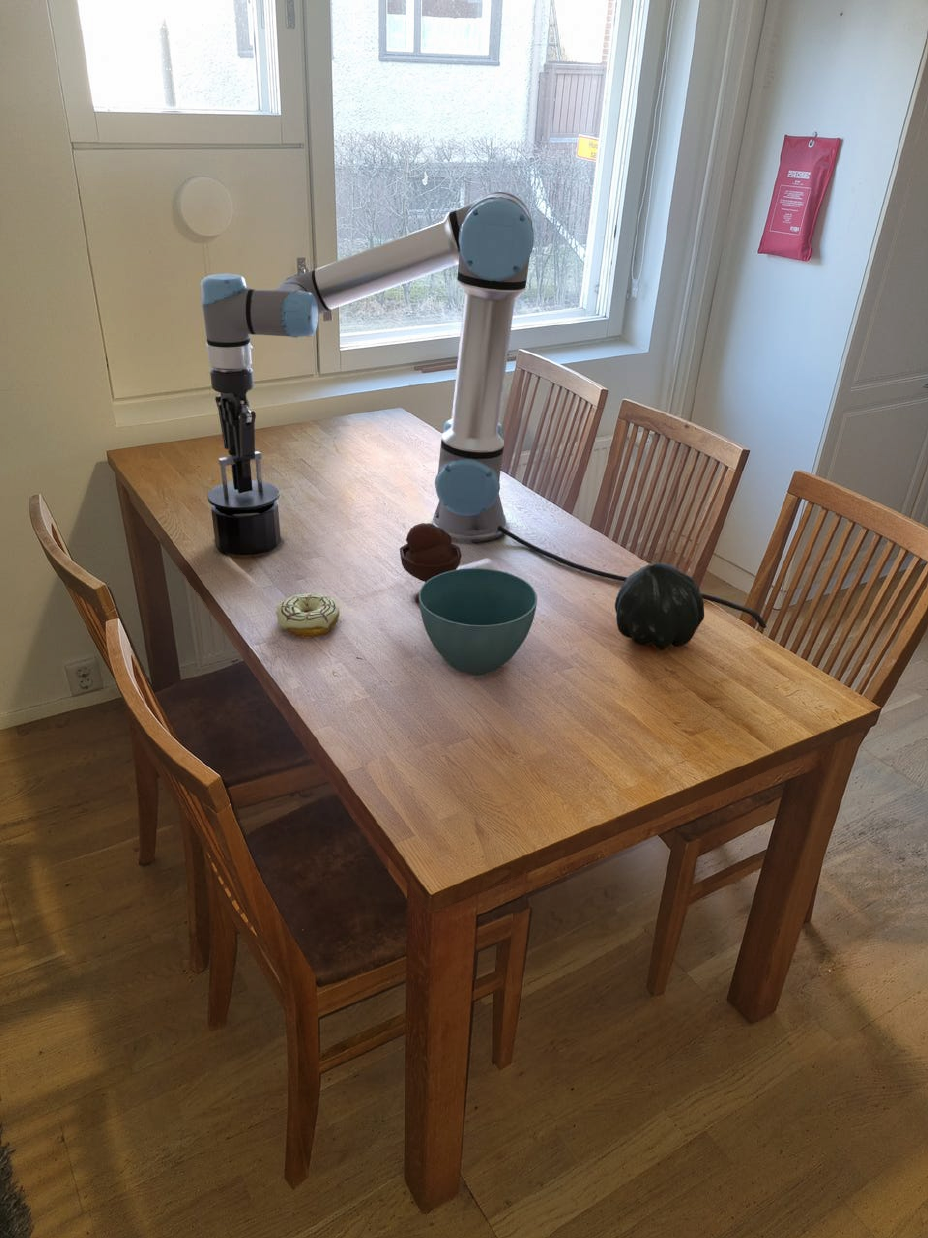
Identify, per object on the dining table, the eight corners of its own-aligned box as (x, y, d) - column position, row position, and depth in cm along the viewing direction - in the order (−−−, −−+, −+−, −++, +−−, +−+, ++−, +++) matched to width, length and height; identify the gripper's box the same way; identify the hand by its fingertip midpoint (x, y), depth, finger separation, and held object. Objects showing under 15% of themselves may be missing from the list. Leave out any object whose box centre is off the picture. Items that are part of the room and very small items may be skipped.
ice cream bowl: (454, 617, 157) (456, 539, 149) (392, 609, 159) (391, 531, 151) (466, 589, 166) (468, 514, 158) (407, 582, 168) (407, 507, 160)
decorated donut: (274, 641, 149) (272, 621, 147) (281, 608, 158) (279, 589, 156) (337, 640, 149) (336, 620, 147) (341, 607, 159) (340, 588, 157)
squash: (718, 595, 155) (669, 530, 151) (720, 642, 143) (667, 573, 139) (648, 632, 162) (599, 571, 158) (645, 681, 150) (592, 616, 145)
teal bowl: (495, 708, 134) (499, 637, 128) (396, 669, 142) (395, 601, 136) (551, 653, 148) (557, 588, 142) (457, 621, 156) (459, 557, 150)
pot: (291, 548, 178) (288, 508, 174) (231, 563, 172) (226, 522, 168) (264, 525, 187) (261, 487, 183) (206, 539, 181) (201, 499, 176)
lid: (291, 503, 173) (288, 460, 169) (224, 518, 167) (219, 473, 162) (262, 481, 183) (258, 439, 178) (197, 494, 176) (191, 451, 172)
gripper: (267, 373, 159) (277, 498, 171) (234, 355, 169) (246, 474, 181) (226, 379, 155) (239, 506, 167) (196, 360, 165) (210, 481, 177)
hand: (243, 489), depth 174 cm, fingers closed on lid
